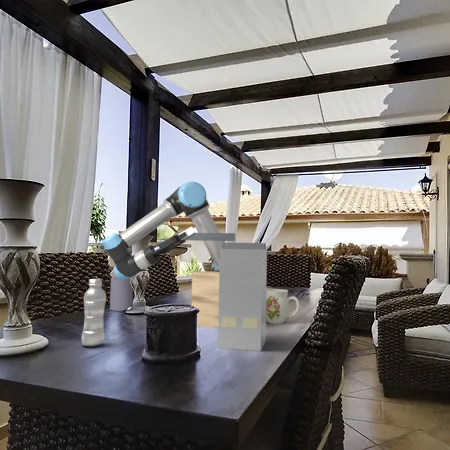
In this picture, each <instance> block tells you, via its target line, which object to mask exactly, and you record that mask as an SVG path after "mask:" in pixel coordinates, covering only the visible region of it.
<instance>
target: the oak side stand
mask: <svg viewBox="0 0 450 450" xmlns="http://www.w3.org/2000/svg"><path fill="white" fill-rule="evenodd" d="M192 306H194V307H196V308H198V309H199V310H200V312H199V313H198V315H197V325H198V326H197V327H210V328H211V327H212V328H218V322H219V272H211V270H210V271H206V270H205V271H203V270H197V271H193V272H192V273H191V307H192Z"/></svg>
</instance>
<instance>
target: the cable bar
mask: <svg viewBox="0 0 450 450" xmlns="http://www.w3.org/2000/svg"><path fill="white" fill-rule="evenodd" d="M180 233H181V232H179V231H177V232H175V233H174V234H175V236H176V235H178V234H180ZM180 240H181V239H180ZM183 240H186V241H200V242H201V241H202V242H203V241H224V242H236V233H232V232H229V233H228V232H227V233H226V232H220V233H194V234H192V235H190V236H188V237H187V238H185V239H183Z"/></svg>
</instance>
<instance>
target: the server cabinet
mask: <svg viewBox="0 0 450 450" xmlns="http://www.w3.org/2000/svg"><path fill="white" fill-rule="evenodd" d="M267 255H268V249H267V243H264V242H225V243H223V242H222V249H220V267H219V322H218V327H217V329H218V330H217V331H218V333H217V335H218V336H217V337H218V338H217V340H218V341H217V348H218V349H226V350H227V349H228V350H239V351H241V350H242V351H251V350H252V351H254V352H256V351H257V352H262V349H263V347H264V346H265V343H266V341H267V321H266V288H267V280H268V279H267V273H268V272H267V266H268V264H267V261H268V257H267ZM252 351H251V352H252Z"/></svg>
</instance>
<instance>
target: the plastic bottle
mask: <svg viewBox="0 0 450 450" xmlns="http://www.w3.org/2000/svg"><path fill="white" fill-rule="evenodd" d="M88 286H89V288H88V289H87V290H86V291H85V293H84V295H83V306H84V307H83V308H84V323H83V330H82V332H81V343H82V345H83V346H86V347H97V346H100V345H103V343H104V341H105V336H106V335H105V329H104V314H105V307H106V301H107V294H106V291H105V290H104V289H103V287H102V286H103V280H102V279H101V278H89V279H88Z"/></svg>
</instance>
